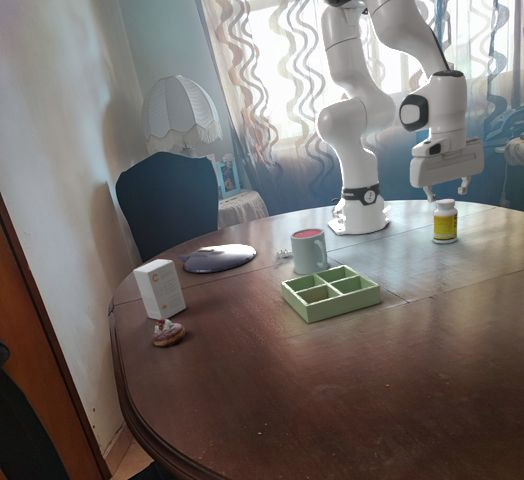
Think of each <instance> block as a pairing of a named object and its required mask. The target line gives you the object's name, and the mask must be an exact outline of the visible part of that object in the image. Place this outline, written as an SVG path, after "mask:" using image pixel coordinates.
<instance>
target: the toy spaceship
mask: <svg viewBox="0 0 524 480" xmlns="http://www.w3.org/2000/svg"><path fill="white" fill-rule="evenodd" d="M256 255H257V251H256V249H255V248H253V247H252V246H249V245H245V244H224V245H219V246H218V245H217V246H208V247H204V246H203V247H198V249H197V250H195V251H193V252H191V253H189V254H185V255H184V254H183V255H178V256H177V259H178V260H181V261H184V264H183V269H184V270H185V271H187V272H188V273H189V272H190V273H197V274H208V273H215V272H221V271H226V270H229V269H233V268H237V267H240V266H242V265H244V264H246V263H248V262H250V261H251V260H253V259H254V257H255V256H256Z"/></svg>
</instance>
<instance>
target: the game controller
mask: <svg viewBox="0 0 524 480" xmlns="http://www.w3.org/2000/svg"><path fill="white" fill-rule="evenodd" d="M284 257H286V258H287V257H293V253H292V250H289V249H287V248H284V251H283V249H280V251H276V252H275V258H279V260H281V259H282V258H284ZM280 262H281V261H279V262H278V263H276V265H275V266H277V265H278V264H280Z"/></svg>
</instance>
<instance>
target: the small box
mask: <svg viewBox="0 0 524 480" xmlns="http://www.w3.org/2000/svg"><path fill="white" fill-rule="evenodd" d="M132 271H133V275H134V278H135V280H136V281H135V282H136V284H137V287H138V290H139V292H140V296H141V299H142V302H143V304H144V305H143V306H144V308H145V310H146V313H147V317H148V318H150V319H154V320H157V321H159V320H160V319H161V318H162V317H164V318H165V319H166V320H168V319H169V318H171V317H172V316H174V315H176V314H178V313H180V312H182V311H183V310H185V309H187V306H186V301H185V299H184V295H183V292H182V288H181V284H180V280H179V277H178V273H177V270H176V266H175V263H174V260H170V259H162V258H161V259H160V258H157V259H155V260H153V261H151V262H148V263H146V264H143V265H142V266H139V267H137V268H135V269H133V270H132Z"/></svg>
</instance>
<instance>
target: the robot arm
mask: <svg viewBox="0 0 524 480" xmlns="http://www.w3.org/2000/svg"><path fill="white" fill-rule="evenodd" d="M321 1H322V2H323V4H325V5H327V7H326V8H325V9H324V10H323V12H322V14H321V18H320V30H321V43H322V49H323V54H324V59H325V65H326V70H327V75H328V79H329V81H330V83H331V84H332V86H333V87H336V88H338V89H339V90H342V91H343V92H344V93H345V95H346V96H347V97H348V98H347V99H342V100H338V101H334V102H332V103H330V104H327V105H326V106H324V107H322V108H320V109H319V110H318V112H317V115H316V118H315V130H316V133H317V135H318V136H319V138H320V139H321V140H322V141H323V142H324V143H326V144H328V145H329V146H330V147H331V148H332V149H333V151H334V152H335V154H336V156H337V158H338V160H339V164H340V171H341V178H342V187H340V189H341V196H340V198H341V199H340V198H339V197H335V198H333V199H332V200H331V202H332V203H334V202H335V201H338V203H337V205H336V206H334V207H333V208H332V213H331V214H332V218H333V219H332V220H331V221H329V222H328V226H329V227H330V229H332V231H333V232H335V233H336V234H337V235H338V236H339V235H340V236H342V235H363V234H364V235H365V234H370V233H373V232H377V231H380V230H383V229H384V228H386V226H387V224H388V223H390V218H387V217H386V216H387V215H386V212H387V211H389V210H390V209H391V206H390V205H388V206H387V207H386V206H385V199H384V197H383V196H381V195H380V194H381V183H380V181H379V169H378V158H377V155H376V154H375V153H373V152H372V151H370V150H369V149H367V148H364V146H363V143H362V140H361V138H363V137H367V136H371V135H377V134H379V133H381V132H383V131H385V130H387V129H388V128H390V127H391V126H392V125H393V124H394V122H395V120H396V115H397V106H396V102H395V101H394V100H395V99H394V98H393V97H392V96H391V95H390V94H388V93H386V92H385V91H384V90H382V88H380V87H379V86H378V84H377V83H376V82H375V81H376V80H375V79H374V78H373V76H372V75H371V71H370V69H369V67H368V64H367V58H366V55H365V49H364V43H363V39H362V34H361V29H360V19H361V16H362V15H364V16H367V15H369V19H370V22H371V26H372V30H373V32H374V35H375V37H376V39H377V41H378V42H379V43H380V45H381V46H383V47H384V48H386V49H387V50H391V51H396V52H399V53H402V54H404V55H407V56H410V57H411V58H413V59H414V60H416V61H417V63H418V64H419V66H420V68H421V70H422V72H423V75H424V78H425V80H426V82H425V83H424V84H423V85H422V86H421V87H419V88H417V89H416V90H414V91H413V92H411V93H408V94H407V95H405V96H404V97H403V99H402V100H401V103H400V105H399V109H398V118H399V122H400V125H401V127H402V128H403V129H404V130H405V131H406V132H409V133H411V132H413V133H417V132H422V131H427V130H429V131H428V137H427V138H426V139H424V140H423V141H421V142H420V143H418V144H416V145H415V146H414V147H412V148H411V156H412V157H413V158H412V159H411V162H410V166H409V184H410V185H411V187H412V188H416V189H422V188H423V192H424V193H425V195H426V196H427V197H426V198H427V202H428V203H435V202H437V194H434V193H433V192H432V190H433V188H434V187H433V186H434V185H438V184H442V183H446V182H450V181H455V180H458V179H461V180H462V182H461V185H460V186H459V187H458V188H457V190H458V191H457V194H458V195H460V196H461V195H462V196H463V195H465V194H467V193H468V186H469V185H470V183H471V181H472V176H473V175H478V174H481V173H482V172H483V171H484V169H485V155H484V141H483V139H482V138H481V137H479V136H478V135H475V136H472V137H467V132H468V131H467V130H468V129H467V127H468V125H467V122H466V113H467V110H468V86H467V79H466V75H465V73H464V72H462V71H461V70H458V69H451V68H450V66H449V64H448V62H447V58H446V56H445V54H444V51H443V49H442V47H441V44H440V42H439V40H438V37H437V35H436V33H435V32H434V30H433V29H432V27H431V26H430V25H429V24H428V23H427V22H426V20H425V19H424V17H423V16H422V14H421V12H420V10H419V8H418V6H417V4H416V0H321Z"/></svg>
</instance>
